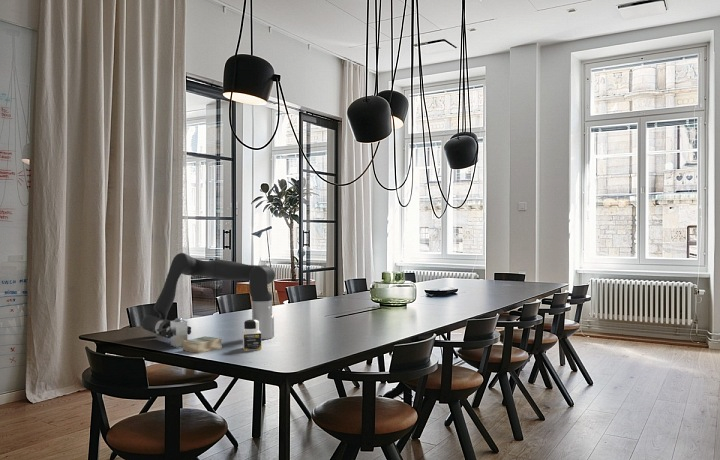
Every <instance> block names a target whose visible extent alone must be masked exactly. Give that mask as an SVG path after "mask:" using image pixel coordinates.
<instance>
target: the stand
mask: <svg viewBox="0 0 720 460" xmlns="http://www.w3.org/2000/svg"><path fill="white" fill-rule="evenodd" d="M222 346H223V345H222V338H220V337H214V336H213V337H211V336H201V337H195V338H191V339H187V340H186V341H183V348H182V351H183V350H186V351H185V352H187V351H191V352H190V353H193V352H196V353H195V354H201V352H202V353H206V351H207V352H211V351H216V350H220V349H222Z"/></svg>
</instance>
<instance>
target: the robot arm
mask: <svg viewBox="0 0 720 460" xmlns="http://www.w3.org/2000/svg"><path fill="white" fill-rule="evenodd" d="M166 275H167V276H166V279H165V282H164V284H163V286H162V287H163V288H162V290H161V292H160V294H159V296H158V298H157V299H156V301H155V304H154V306H153V310H154V312H156V313H158V315H159V317H156V316H154V315H151V314H149V315H145V316H144V317H143V318H142V320H141V323H140V324H141V327H142V329H144V330H145V331H148V332H151V333H153V334H156V336H159V337H162V338H163V337H164V338H167V339H171V337H173V331H171V323H170V321H171V320H169V319H167V317H168V314H169V311H170V309H171V307H172V305H173V303H174V301H175V299H176V298H175V297H176V294H177V293H176V292H177V286H178V281H179V278H180V277H181V275H184V276H199V277H200V276H202V277H207V278H211V279H216V280H222V281H248V285H249V286H248V287H249V295H250V298H251V320H258V321H259V330H260V332H261V340H269V339H272V338H274V337H275V318H274V317H275V316H273V295H272V293H271V292H270V291H269V285H270V284H271V283H273V281H274V280H275V278H276V272H275V270H274V269H273V268H272V267H271V266H269V265H266V264H264V265H263V264H261V265H259V264H258V265H255V264H245V263H241V262H236V261H231V260H225V259H213V260H201V259H197V258H194V257H192V256H190V255H188V254H186V253H184V252H180V253H178V254H176V255H175V256H174V257H173V259H172V261H171V264H170V266H169V270H168V272H167V274H166ZM191 333H192V327H191V326H188V325H187V336H188V335H191Z"/></svg>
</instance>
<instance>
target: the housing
mask: <svg viewBox="0 0 720 460" xmlns="http://www.w3.org/2000/svg"><path fill="white" fill-rule="evenodd" d="M170 323H171V331H173V337H171V338H170V347H171V346H173V347H172V348H174V347H176V348H175V349H180V348H179V347H183V341H186V340H188V334H187V326H188V320H186V319H185V320H184V319H183V318H182V317H178V318H177V317H176V318H174V320H170Z"/></svg>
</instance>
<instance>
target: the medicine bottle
mask: <svg viewBox="0 0 720 460" xmlns="http://www.w3.org/2000/svg"><path fill="white" fill-rule="evenodd" d="M243 326H244V327H243V328H244V330H243V331H242V349H243V351H244V352H248V351H261V350H262V339H261V332H260V330H259V321H258V320H252V319H247V320H244V325H243Z"/></svg>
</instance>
